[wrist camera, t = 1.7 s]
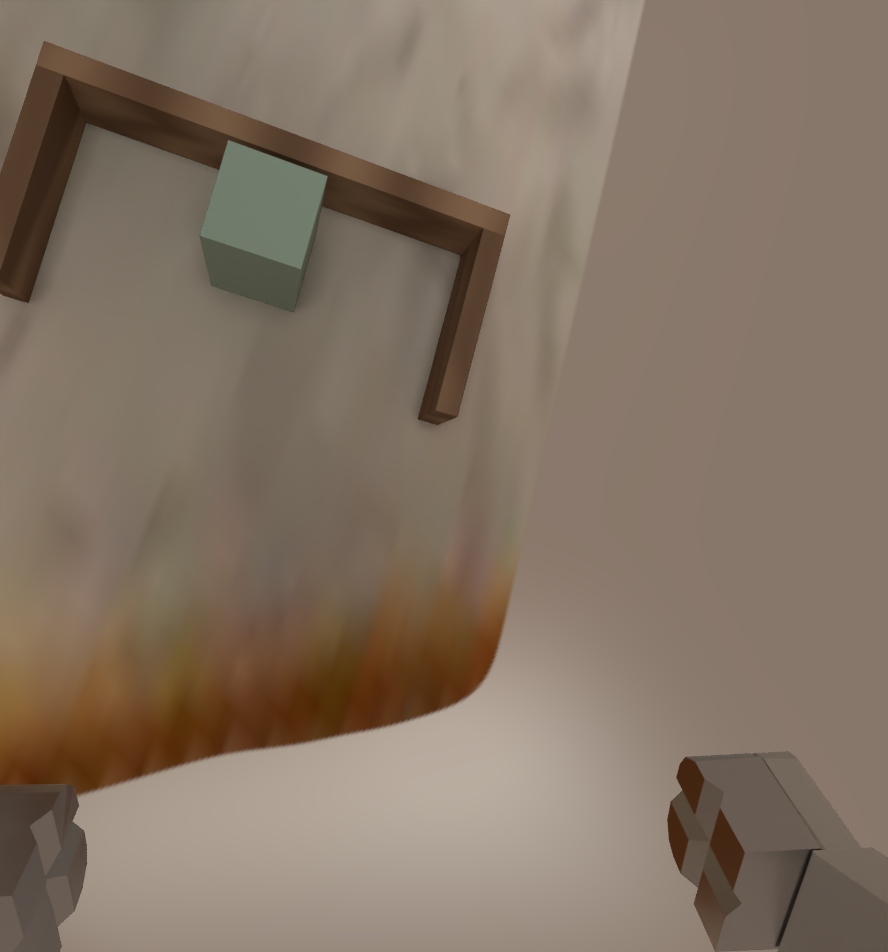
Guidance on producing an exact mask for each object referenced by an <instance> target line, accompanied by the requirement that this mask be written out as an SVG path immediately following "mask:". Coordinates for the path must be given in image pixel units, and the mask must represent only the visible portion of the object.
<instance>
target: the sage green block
mask: <svg viewBox="0 0 888 952" xmlns="http://www.w3.org/2000/svg"><path fill="white" fill-rule="evenodd" d="M327 177H328V176H326V175H323V174H320V173H318V172H315V171H312V170H309V169H306V168H304V167H301V166H298V165H295V164H293V163H290V162H287V161H284V160H282V159H279V158H276V157H273V156H271V155H268V154H265V153H262V152H260V151H257V150H254V149H251V148H249V147H246V146H243V145H240V144H238V143H235V142H232V141H229V140H228V143H227V146H226V149H225V153H224V156H223V159H222V163H221V166H220V169H219V173H218V176H217V179H216V183H215V186H214V189H213V193H212V196H211V199H210V203H209V206H208V209H207V213H206V216H205V219H204V223H203V226H202V229H201V233H200V239H201V243H202V247H203V252H204V256H205V260H206V264H207V268H208V272H209V277H210V281H211V285H212V286H214V287H217V288H220V289H223V290H226V291H229V292H232V293H235V294H239V295H242V296H245V297H248V298H251V299H254V300H257V301H261V302H264V303H267V304H270V305H273V306H276V307H279V308H282V309H286V310H289V311H292V312H294V309H295V306H296V302H297V299H298V295H299V292H300V288H301V285H302V281H303V278H304V274H305V271H306V267H307V264H308V260H309V257H310V253H311V250H312V246H313V243H314V239H315V236H316V231H317V226H318V221H319V216H320V211H321V206H322V201H323V196H324V191H325V187H326V182H327Z"/></svg>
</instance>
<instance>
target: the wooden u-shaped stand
mask: <svg viewBox="0 0 888 952" xmlns="http://www.w3.org/2000/svg"><path fill="white" fill-rule="evenodd" d="M86 122H87V123H90V124H93V125H96V126H98V127H101V128H104V129H107V130H110V131H112V132H115V133H118V134H121V135H124V136H127V137H129V138H132V139H135V140H138V141H141V142H144V143H146V144H149V145H152V146H155V147H158V148H160V149H163V150H166V151H169V152H172V153H175V154H177V155H180V156H183V157H186V158H189V159H192V160H194V161H197V162H200V163H203V164H206V165H208V166H211V167H214V168H217V169H220V166H221V163H222V159H223V156H224V153H225V149H226V146H227V143H228V140H229V141H232V142H235V143H238V144H240V145H243V146H246V147H249V148H251V149H254V150H257V151H260V152H262V153H265V154H268V155H271V156H273V157H276V158H279V159H282V160H284V161H287V162H290V163H293V164H295V165H298V166H301V167H304V168H306V169H309V170H312V171H315V172H318V173H320V174H323V175H326V176H328V177H327V182H326V187H325V191H324V196H323V201H322V206H324V207H327V208H330V209H333V210H336V211H338V212H341V213H344V214H347V215H350V216H353V217H355V218H358V219H361V220H364V221H367V222H370V223H372V224H375V225H378V226H381V227H384V228H386V229H389V230H392V231H395V232H398V233H401V234H403V235H406V236H409V237H412V238H415V239H418V240H420V241H423V242H426V243H429V244H432V245H434V246H437V247H440V248H443V249H446V250H449V251H451V252H454V253H457V254H460V255H461V259H460V263H459V267H458V270H457V274H456V278H455V282H454V285H453V289H452V293H451V297H450V300H449V304H448V308H447V312H446V315H445V319H444V323H443V327H442V331H441V334H440V338H439V342H438V346H437V349H436V353H435V357H434V361H433V364H432V368H431V372H430V376H429V379H428V383H427V387H426V391H425V394H424V398H423V402H422V406H421V409H420V413H419V417H418V419H419V420H423V421H426V422H429V423H433V424H436V425H439V424H441V423H444V422H446V421H448V420H451V419H453V418H456V417H458V413H459V409H460V405H461V401H462V398H463V394H464V390H465V386H466V382H467V378H468V375H469V371H470V367H471V363H472V359H473V355H474V352H475V348H476V344H477V340H478V336H479V333H480V329H481V325H482V321H483V317H484V313H485V310H486V306H487V302H488V298H489V294H490V290H491V287H492V283H493V279H494V275H495V271H496V267H497V264H498V260H499V256H500V252H501V248H502V245H503V241H504V237H505V233H506V229H507V225H508V222H509V218H510V214H507V213H504V212H502V211H499V210H496V209H494V208H491V207H488V206H486V205H483V204H480V203H478V202H475V201H472V200H470V199H467V198H464V197H462V196H459V195H456V194H453V193H451V192H448V191H445V190H443V189H440V188H437V187H435V186H432V185H429V184H427V183H424V182H421V181H419V180H416V179H413V178H410V177H408V176H405V175H402V174H400V173H397V172H394V171H392V170H389V169H386V168H384V167H381V166H378V165H376V164H373V163H370V162H368V161H365V160H362V159H359V158H357V157H354V156H351V155H349V154H346V153H343V152H341V151H338V150H335V149H333V148H330V147H327V146H325V145H322V144H319V143H317V142H314V141H311V140H308V139H306V138H303V137H300V136H298V135H295V134H292V133H290V132H287V131H284V130H282V129H279V128H276V127H274V126H271V125H268V124H266V123H263V122H260V121H257V120H255V119H252V118H249V117H247V116H244V115H241V114H239V113H236V112H233V111H231V110H228V109H225V108H223V107H220V106H217V105H215V104H212V103H209V102H206V101H204V100H201V99H198V98H196V97H193V96H190V95H188V94H185V93H182V92H180V91H177V90H174V89H172V88H169V87H166V86H163V85H161V84H158V83H155V82H153V81H150V80H147V79H145V78H142V77H139V76H137V75H134V74H131V73H129V72H126V71H123V70H121V69H118V68H115V67H112V66H110V65H107V64H104V63H102V62H99V61H96V60H94V59H91V58H88V57H86V56H83V55H80V54H78V53H75V52H72V51H70V50H67V49H64V48H61V47H59V46H56V45H53V44H51V43H48V42H45V41H44V43H43V46H42V49H41V52H40V55H39V58H38V61H37V64H36V67H35V70H34V73H33V76H32V79H31V82H30V85H29V88H28V92H27V95H26V98H25V101H24V104H23V107H22V110H21V113H20V116H19V119H18V122H17V125H16V128H15V131H14V134H13V137H12V140H11V143H10V146H9V149H8V153H7V156H6V159H5V162H4V165H3V168H2V171H1V174H0V293H1V294H2V295H3V296H7V297H10V298H14V299H17V300H20V301H24V302H27V303H28V302H29V299H30V296H31V293H32V290H33V286H34V283H35V280H36V277H37V274H38V271H39V268H40V264H41V261H42V258H43V255H44V252H45V249H46V246H47V242H48V239H49V236H50V233H51V230H52V227H53V224H54V221H55V217H56V214H57V211H58V208H59V205H60V202H61V199H62V195H63V192H64V189H65V186H66V183H67V180H68V177H69V174H70V170H71V167H72V164H73V161H74V158H75V155H76V152H77V148H78V145H79V142H80V139H81V136H82V133H83V130H84V127H85V123H86Z"/></svg>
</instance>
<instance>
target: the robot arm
mask: <svg viewBox="0 0 888 952" xmlns="http://www.w3.org/2000/svg"><path fill="white" fill-rule="evenodd" d="M676 778H677V780H678V782H679V784H680V786H681V788H682V791H681V792H680V793H679V794H678V795H677V796H676V797H675V798H674V799H673V800H672V801H671V803H670V808H669V814H668V819H667V821H668V834H669V842H670V846H671V849H672V853H673V857H674V859H675V861H676V864H677V866H678V869H679V871H680V873H681V874H682V875H683V876H684V877H685V878H687V879H688V880H689V881H690V882H692V883H693V884H694V885H695V886H696V887H698V890H697V894H696V898H695V901H694V905H695V907H696V910H697V912H698V914H699V916H700V918H701V921H702V923H703V925H704V928H705V930H706V932H707V934H708V937H709V938H710V941H711V943H712V945H713V948H714V950H715V952H719V951H742V950H765V949H778V952H888V857H886V856H885V855H883V854H882V853H880V852H878V851H877V850H875V849H874V848H862V847H861V846H860V845H859V843H858V842H857V840H856V839H855V838H854V836H853V835H852V834H851V832H850V831H849V829H848V828H847V827H846V825H845V824H844V822H843V821H842V820H841V818H840V817H839V815H838V814H837V813H836V812H835V810H834V809H833V807H832V806H831V804H830V803H829V802H828V800H827V799H826V797H825V796H824V795H823V794H822V792H821V791H820V789H819V788H818V786H817V785H816V784H815V782H814V781H813V779H812V778H811V777H810V775H809V774H808V772H807V771H806V770H805V768H804V767H803V766H802V764H801V763H800V761H799V760H798V759H797V757H796V756H794V755H792V754H791V753H790V752H768V753H754V754H730V755H711V756H694V757H685V758H684V759H683V761H682V762H681V763H680V766H679V770H678V774H677V777H676ZM78 807H79V804H78V800H77V796H76V792H75V788H74V786H71V785H68V784H54V785H0V952H60V949H61V947H62V946H61V941H60V937H59V932H58V928H57V927H58V926H59V925H60V924H61V923H62V922H63V921H64V920H65V919H66V918H67V917H68V916H69V915H71V914H72V913H73V912H74V911H75V908H76V905H77V903H78V900H79V897H80V894H81V891H82V888H83V882H84V876H85V871H86V865H87V844H86V839H85V833H84V830H82V829H81V828H80V827H79V826H77V825H76V824H75V823H74V822H72V821H73V819H74V816H75V814H76V811H77V809H78Z"/></svg>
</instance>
